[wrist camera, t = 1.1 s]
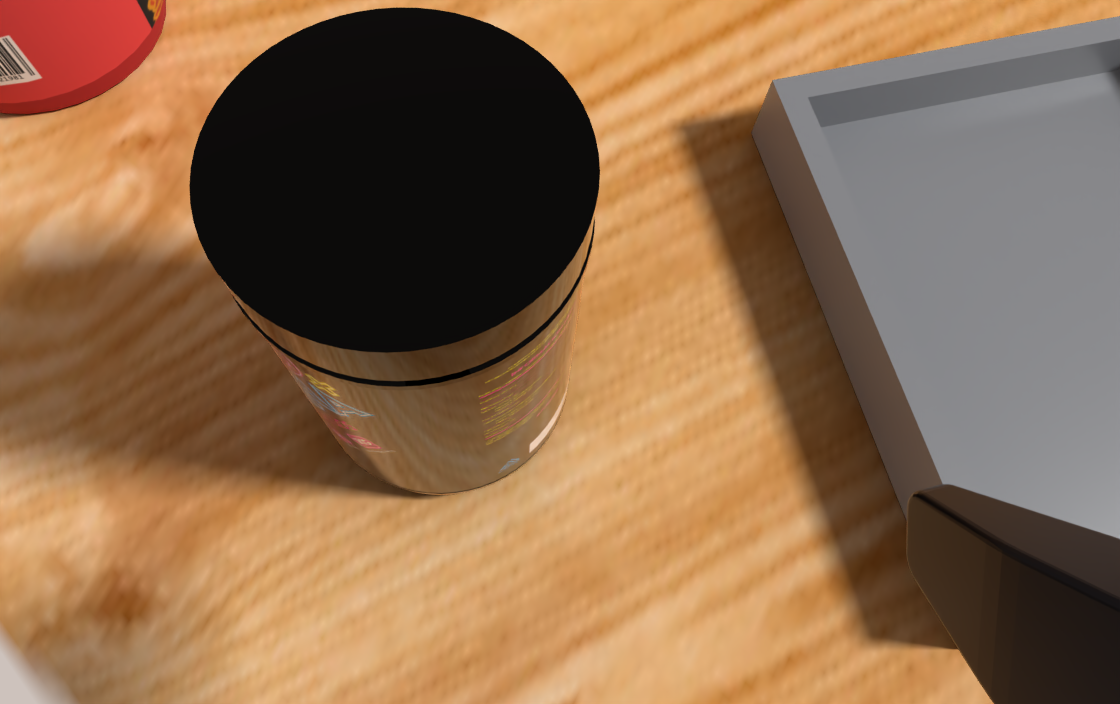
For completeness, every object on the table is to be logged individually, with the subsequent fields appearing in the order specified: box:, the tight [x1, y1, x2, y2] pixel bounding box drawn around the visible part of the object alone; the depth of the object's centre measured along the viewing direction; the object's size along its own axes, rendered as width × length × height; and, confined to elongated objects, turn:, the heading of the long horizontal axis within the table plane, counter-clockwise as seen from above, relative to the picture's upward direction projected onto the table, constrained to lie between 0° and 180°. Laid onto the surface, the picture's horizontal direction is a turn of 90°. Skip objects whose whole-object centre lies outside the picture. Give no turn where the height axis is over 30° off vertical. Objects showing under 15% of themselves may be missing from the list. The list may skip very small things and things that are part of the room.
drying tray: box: [751, 16, 1120, 539], centre depth 24 cm, size 16×14×2 cm
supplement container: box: [190, 8, 600, 495], centre depth 19 cm, size 7×7×10 cm
